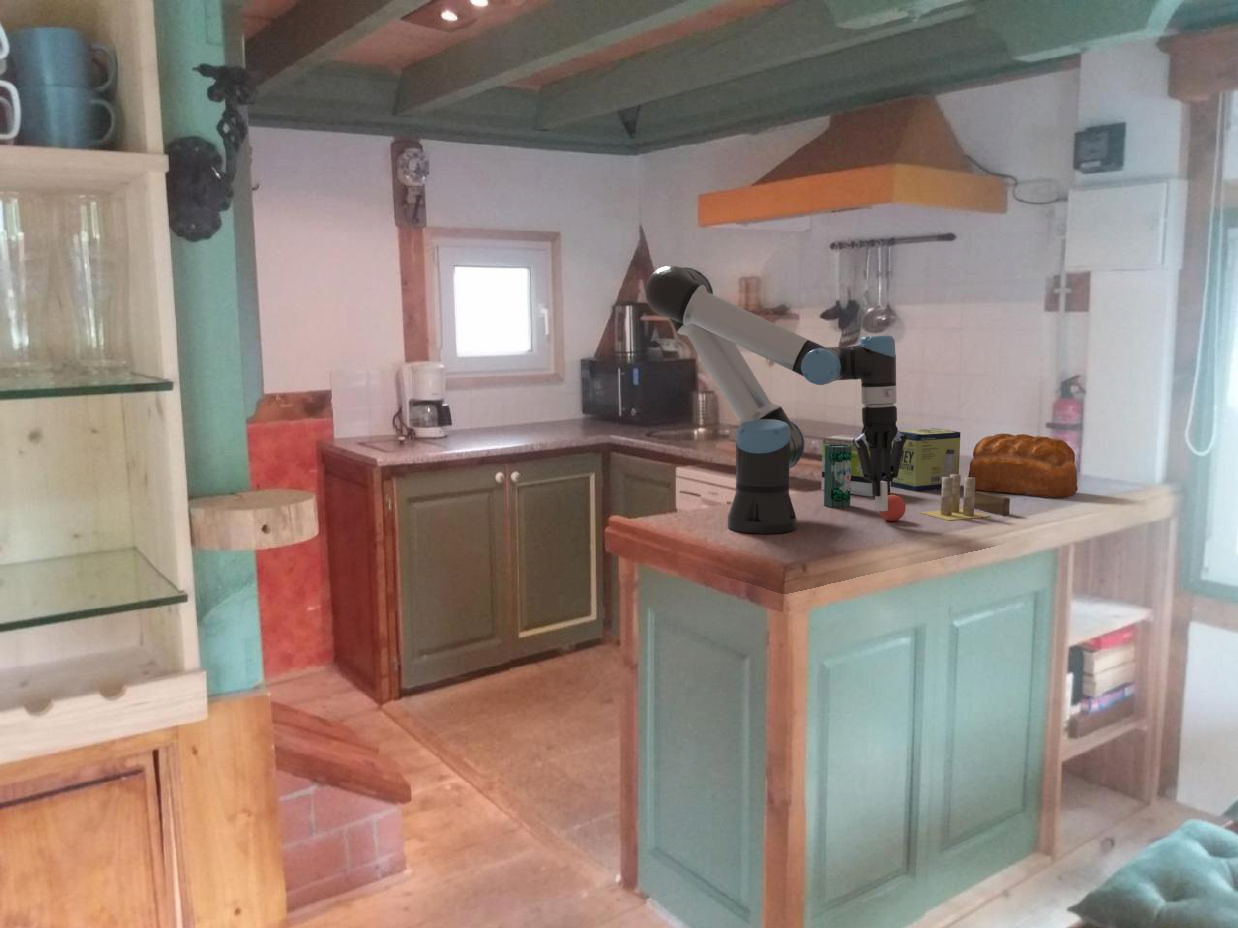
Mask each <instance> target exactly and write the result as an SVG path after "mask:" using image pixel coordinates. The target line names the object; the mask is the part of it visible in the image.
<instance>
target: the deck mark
mask: <svg viewBox="0 0 1238 928" xmlns="http://www.w3.org/2000/svg"><path fill="white" fill-rule="evenodd" d="M919 513H920V514H922V515H925V516H930V517H933V518H937V519H940V520H944V521H947V522H948V521H950V522H951V521H959V520H960V521H961V520H972V519H981V517H983V518H989V517H991V515H988V514H984V513H981V512H976V511H974V516H963V508H959V512H958V513H953V512H952V515H951V516H943V515H941V509H940V510H932V511H929V510H928V511H920V512H919ZM971 518H972V519H971Z"/></svg>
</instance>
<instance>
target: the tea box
mask: <svg viewBox="0 0 1238 928" xmlns="http://www.w3.org/2000/svg"><path fill="white" fill-rule="evenodd" d="M859 436H860V435H850V434H837V435H833V436H827V437H822V454H821V455H822V457H821V459H822V461H821V491H824V478H825V445H830V444H845V445H851V446H852V456H851V495H857V496H862V497H874V496H873V494H872V481H870V480H867V479H865V478H864V476H863V472H862V468H861V464H860V460H859V456H858V452H857V448H856V447H855V445H854V444H853V442H852V441H853V439H854V438H858V437H859ZM866 442H867V441H866ZM866 446H867V449H868V453H869V457H870V451H869V444H868V443H866ZM881 481H882V480H881Z"/></svg>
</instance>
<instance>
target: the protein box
mask: <svg viewBox="0 0 1238 928" xmlns="http://www.w3.org/2000/svg"><path fill="white" fill-rule="evenodd" d="M898 432H900V433H901V434H903V435H907V440H906V442H905V444H904V446H903V451H902V456H901V462H900V467H899V473H898V477H896V478H893V481H891V482H890V487H893V486H894V487H893V488H898V489H901V490H906V491H911V492H915V493H917V492H926V491H925V490H927V491H934V489H937V490H942V477H950V475H951V474H957V475H960V455H961V433H962V432H961V431H956V430H955V431H954V430H950V429H942V428H921V429H910V430H898ZM893 442H894V440H893V441H892V446H893Z"/></svg>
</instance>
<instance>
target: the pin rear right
mask: <svg viewBox="0 0 1238 928" xmlns="http://www.w3.org/2000/svg"><path fill="white" fill-rule="evenodd" d="M963 479H964V481H963V483H964V484H963V502H962V503H963V504H962V505H963V506H962V507H963V508H962V509H963V516H974V512H975V509H974V500H975V492H976V490H975V478H972V477H968V476H965V477H964V478H963Z"/></svg>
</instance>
